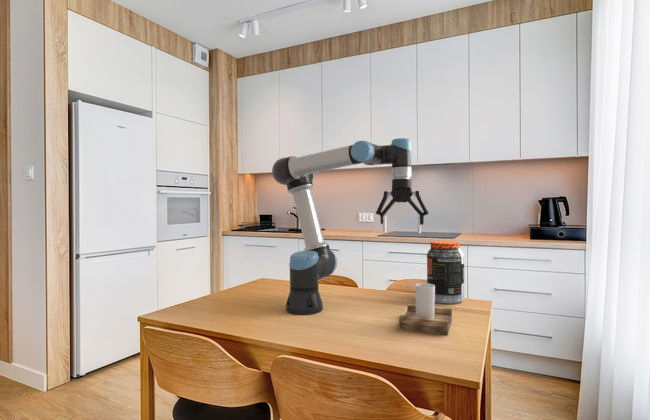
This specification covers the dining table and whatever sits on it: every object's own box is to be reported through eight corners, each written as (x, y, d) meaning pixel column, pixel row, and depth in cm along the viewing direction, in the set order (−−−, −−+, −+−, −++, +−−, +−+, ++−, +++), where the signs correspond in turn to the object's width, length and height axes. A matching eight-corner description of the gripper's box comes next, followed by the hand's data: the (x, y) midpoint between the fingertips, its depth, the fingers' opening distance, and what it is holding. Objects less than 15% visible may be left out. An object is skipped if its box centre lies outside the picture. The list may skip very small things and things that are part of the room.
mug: (430, 323, 130) (430, 288, 129) (412, 319, 134) (412, 285, 134) (441, 316, 138) (441, 283, 137) (424, 312, 142) (424, 280, 142)
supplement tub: (471, 300, 167) (471, 242, 166) (448, 306, 158) (448, 244, 157) (442, 293, 180) (442, 239, 179) (419, 298, 171) (419, 241, 170)
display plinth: (399, 329, 131) (399, 316, 131) (408, 315, 147) (408, 303, 147) (447, 335, 125) (447, 322, 125) (451, 320, 141) (451, 308, 141)
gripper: (368, 179, 150) (368, 232, 151) (433, 177, 140) (433, 234, 141) (373, 179, 157) (373, 231, 158) (435, 178, 147) (435, 232, 148)
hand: (401, 232), depth 149 cm, fingers open, 13 cm apart
